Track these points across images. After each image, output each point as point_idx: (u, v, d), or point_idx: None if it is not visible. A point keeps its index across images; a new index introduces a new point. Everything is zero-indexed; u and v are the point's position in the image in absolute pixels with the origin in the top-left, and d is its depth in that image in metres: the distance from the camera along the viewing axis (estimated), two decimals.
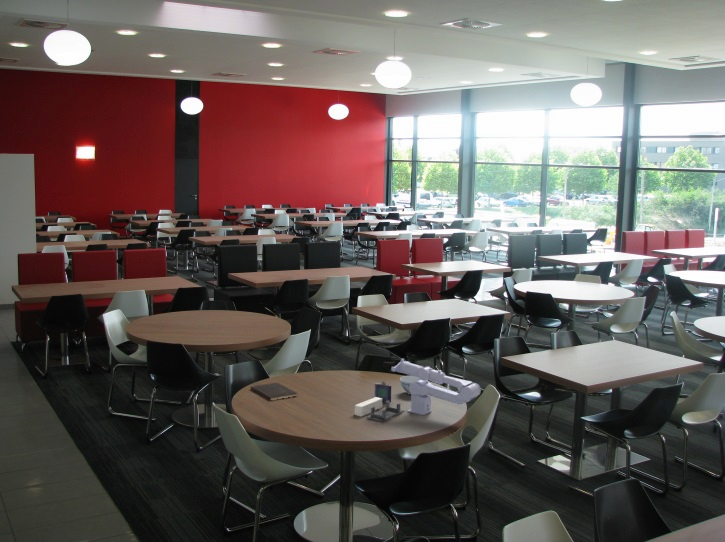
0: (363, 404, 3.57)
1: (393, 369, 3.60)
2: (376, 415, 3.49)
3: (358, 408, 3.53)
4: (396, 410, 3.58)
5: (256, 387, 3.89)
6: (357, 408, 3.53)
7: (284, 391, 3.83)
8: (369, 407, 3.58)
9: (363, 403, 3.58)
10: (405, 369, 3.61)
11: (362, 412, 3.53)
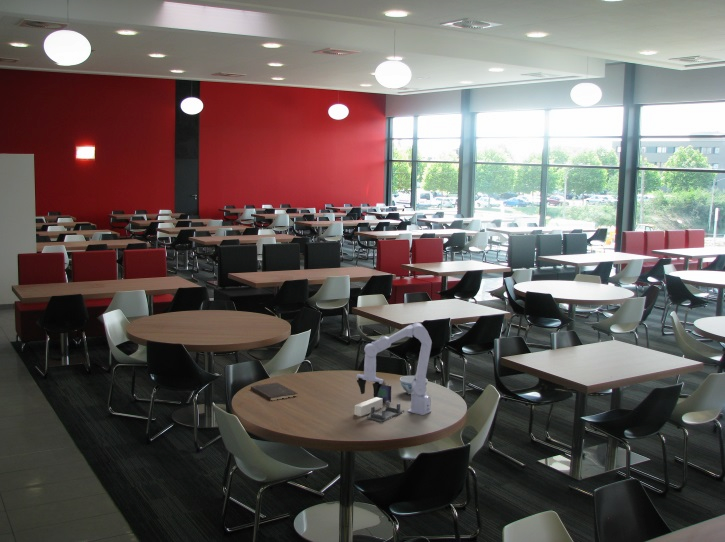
0: (363, 404, 3.57)
1: (381, 381, 3.55)
2: (376, 415, 3.49)
3: (357, 408, 3.53)
4: (396, 410, 3.58)
5: (256, 387, 3.89)
6: (357, 408, 3.54)
7: (284, 391, 3.83)
8: (369, 407, 3.58)
9: (363, 403, 3.58)
10: (374, 370, 3.57)
11: (362, 412, 3.53)
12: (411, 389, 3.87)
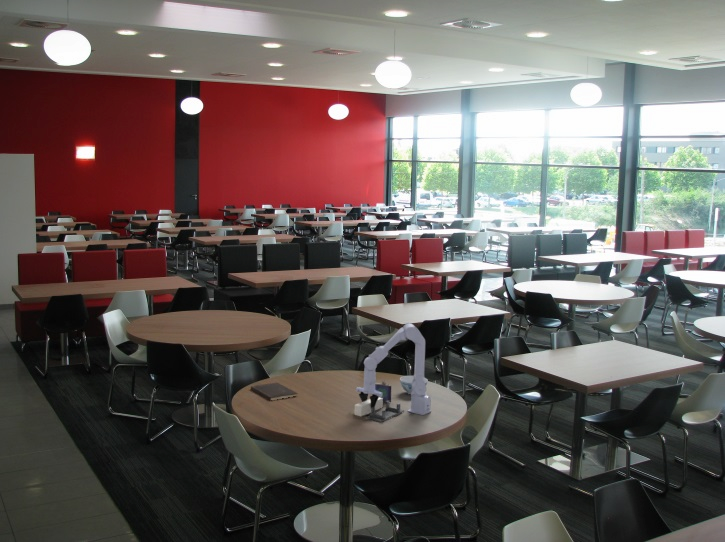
0: (363, 403, 3.57)
1: (381, 394, 3.56)
2: (376, 415, 3.49)
3: (357, 408, 3.53)
4: (396, 410, 3.58)
5: (256, 387, 3.90)
6: (357, 407, 3.54)
7: (284, 391, 3.83)
8: (369, 407, 3.58)
9: (363, 402, 3.58)
10: (374, 383, 3.58)
11: (362, 411, 3.53)
12: (411, 389, 3.87)
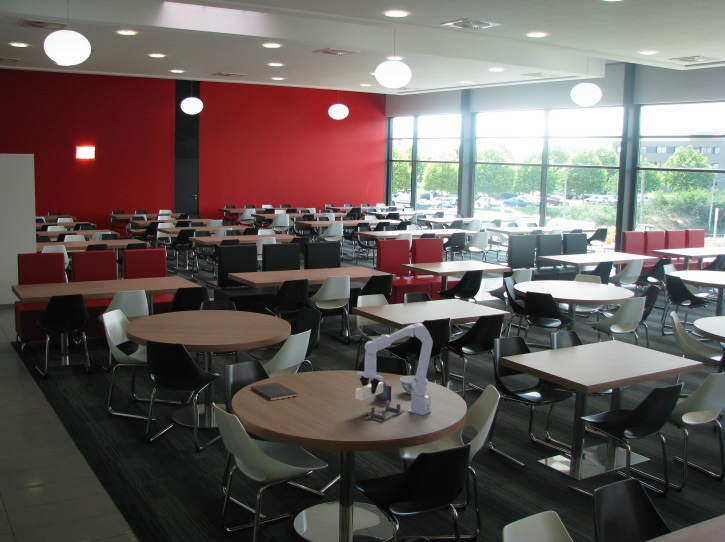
0: (364, 387, 3.55)
1: (382, 378, 3.54)
2: (376, 415, 3.49)
3: (358, 392, 3.52)
4: (396, 410, 3.58)
5: (256, 387, 3.90)
6: (358, 391, 3.52)
7: (284, 391, 3.83)
8: (370, 391, 3.56)
9: (364, 387, 3.57)
10: (375, 368, 3.56)
11: (363, 395, 3.52)
12: (411, 389, 3.87)
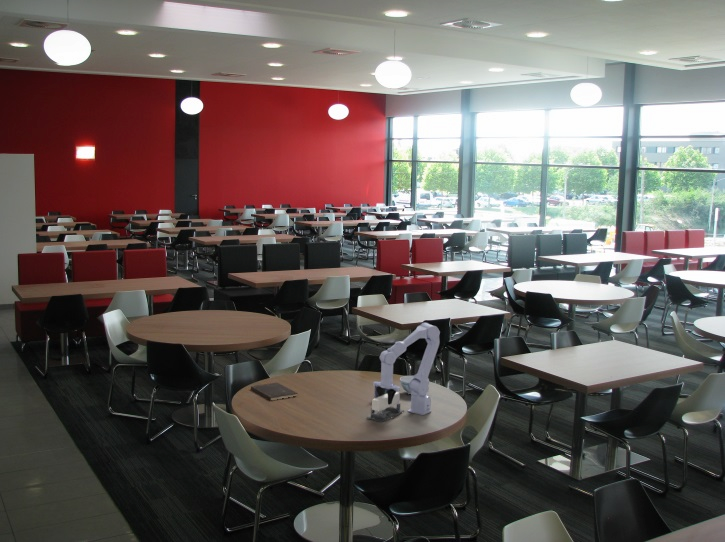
0: (380, 398, 3.50)
1: (399, 388, 3.49)
2: (376, 415, 3.49)
3: (375, 402, 3.47)
4: (396, 410, 3.58)
5: (256, 387, 3.90)
6: (374, 402, 3.47)
7: (284, 391, 3.83)
8: (386, 401, 3.51)
9: (381, 397, 3.51)
10: (391, 378, 3.51)
11: (380, 406, 3.47)
12: None
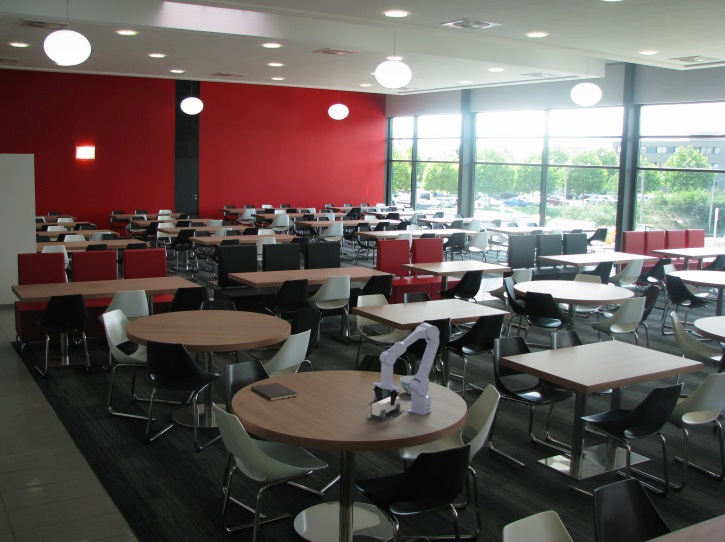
0: (380, 402, 3.50)
1: (399, 389, 3.49)
2: (376, 415, 3.49)
3: (375, 407, 3.47)
4: (396, 410, 3.58)
5: (256, 387, 3.90)
6: (374, 406, 3.47)
7: (284, 391, 3.83)
8: (386, 406, 3.52)
9: (381, 402, 3.52)
10: (391, 378, 3.51)
11: (380, 411, 3.47)
12: None
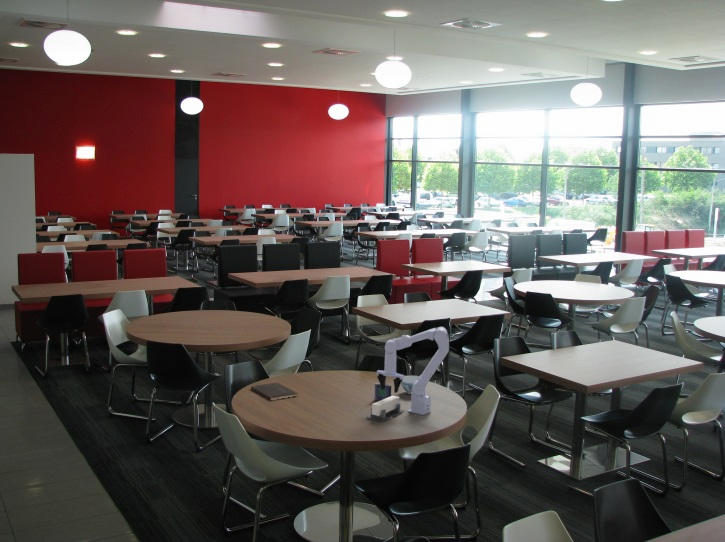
0: (380, 402, 3.50)
1: (402, 376, 3.58)
2: (376, 415, 3.49)
3: (375, 407, 3.47)
4: (396, 410, 3.58)
5: (256, 387, 3.90)
6: (374, 406, 3.47)
7: (284, 391, 3.83)
8: (386, 406, 3.52)
9: (381, 402, 3.52)
10: (395, 366, 3.60)
11: (380, 411, 3.47)
12: (411, 389, 3.87)
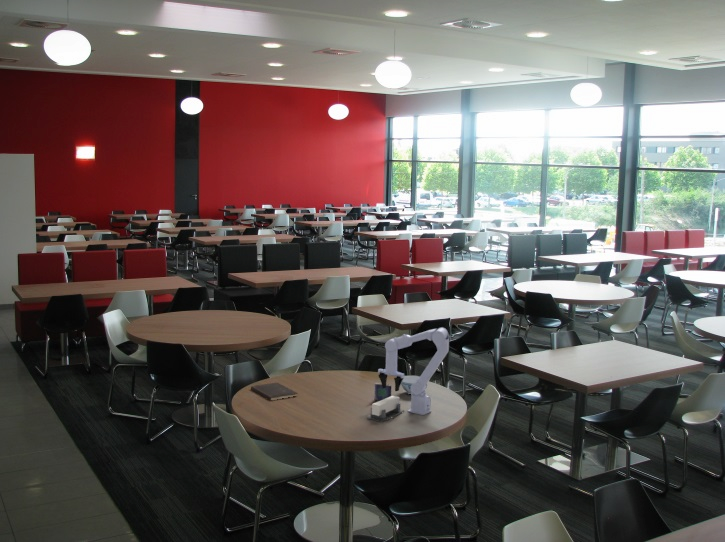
0: (380, 402, 3.50)
1: (403, 375, 3.61)
2: (376, 415, 3.49)
3: (375, 407, 3.47)
4: (396, 410, 3.58)
5: (256, 387, 3.90)
6: (374, 406, 3.47)
7: (284, 391, 3.83)
8: (386, 406, 3.52)
9: (381, 402, 3.52)
10: (396, 365, 3.63)
11: (380, 411, 3.47)
12: None
